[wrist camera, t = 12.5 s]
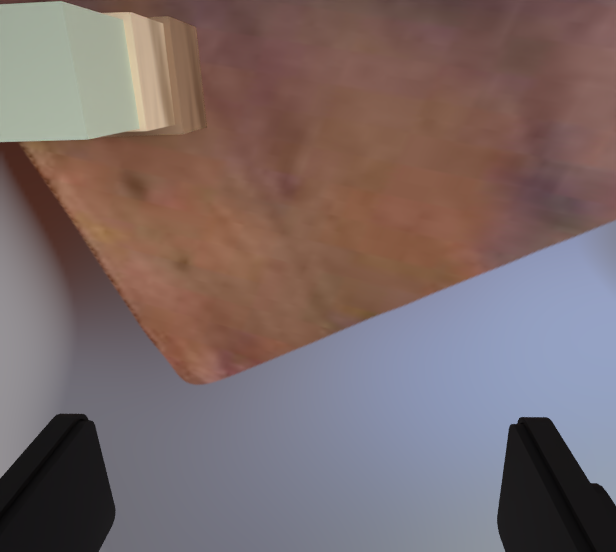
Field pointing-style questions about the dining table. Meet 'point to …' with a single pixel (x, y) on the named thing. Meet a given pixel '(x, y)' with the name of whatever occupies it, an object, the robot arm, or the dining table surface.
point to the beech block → (148, 70)
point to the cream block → (180, 80)
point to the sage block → (63, 74)
